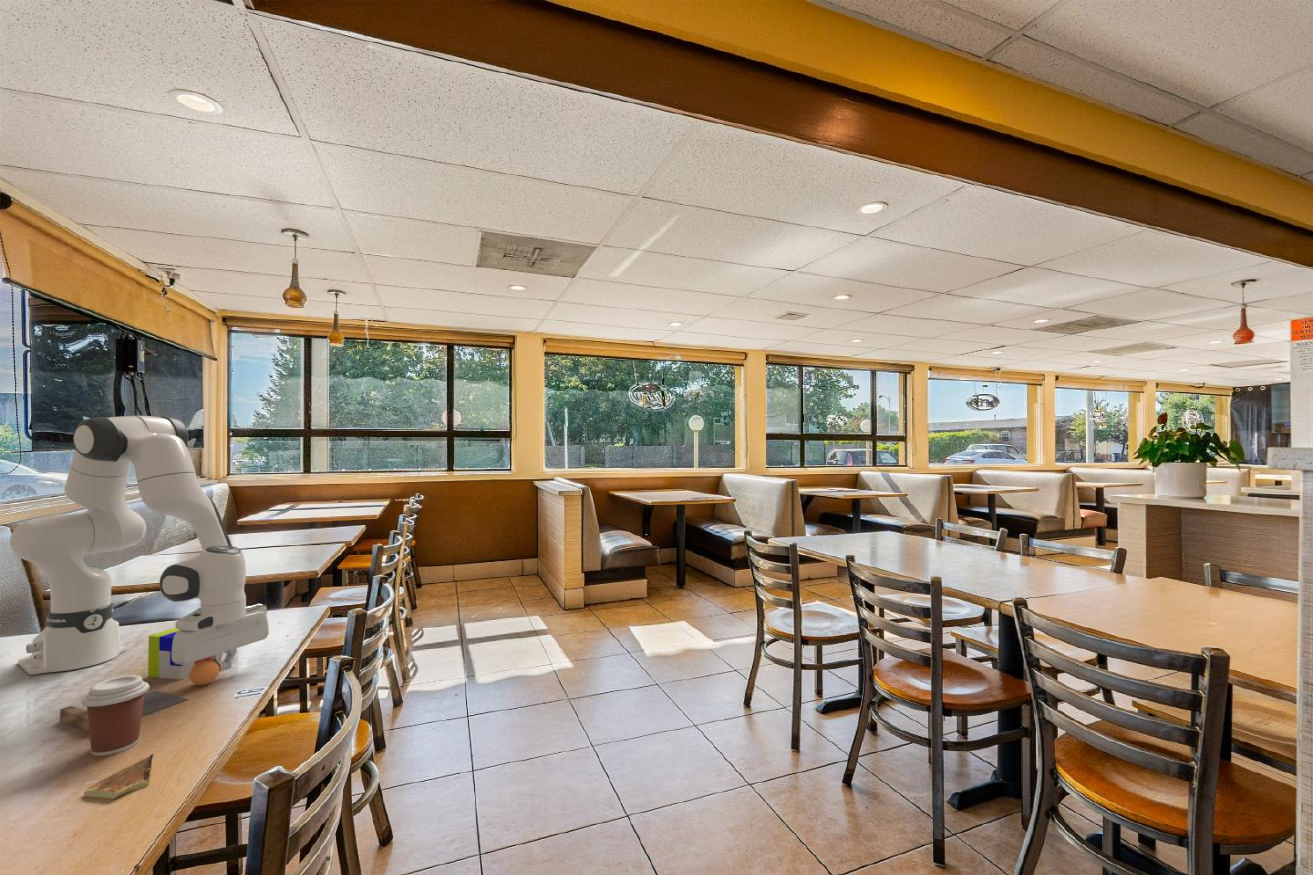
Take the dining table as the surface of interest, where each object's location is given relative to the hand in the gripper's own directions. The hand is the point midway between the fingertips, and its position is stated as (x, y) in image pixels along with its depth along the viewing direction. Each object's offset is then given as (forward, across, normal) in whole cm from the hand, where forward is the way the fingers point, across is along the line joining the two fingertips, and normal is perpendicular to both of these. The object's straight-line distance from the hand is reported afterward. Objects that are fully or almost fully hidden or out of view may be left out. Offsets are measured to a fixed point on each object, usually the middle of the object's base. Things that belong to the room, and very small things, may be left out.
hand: (223, 669), depth 135 cm
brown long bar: (+2, +26, -1) cm, 26 cm away
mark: (+2, +16, -1) cm, 17 cm away
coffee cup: (+2, +28, +15) cm, 32 cm away
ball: (-1, +4, 0) cm, 4 cm away
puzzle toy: (+2, 0, -14) cm, 15 cm away
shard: (+3, +34, +30) cm, 46 cm away
